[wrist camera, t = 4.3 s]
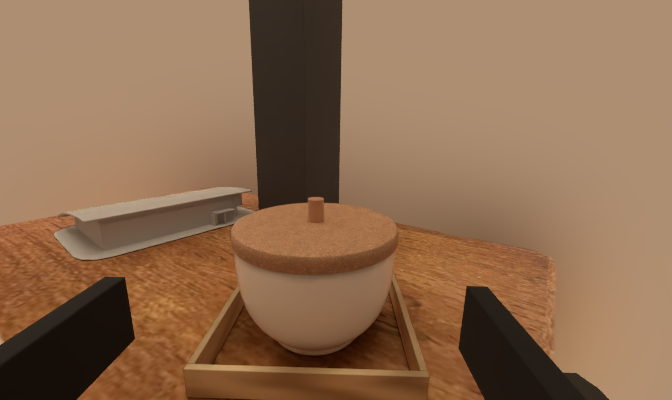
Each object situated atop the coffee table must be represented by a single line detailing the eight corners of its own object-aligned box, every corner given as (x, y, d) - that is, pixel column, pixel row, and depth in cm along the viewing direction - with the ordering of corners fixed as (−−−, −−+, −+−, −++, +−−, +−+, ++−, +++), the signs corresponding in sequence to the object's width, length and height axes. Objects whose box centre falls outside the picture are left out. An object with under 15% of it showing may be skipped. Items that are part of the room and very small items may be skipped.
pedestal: (338, 221, 46) (343, -67, 37) (305, 237, 39) (302, -109, 30) (295, 212, 50) (291, -49, 41) (259, 226, 43) (244, -83, 34)
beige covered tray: (266, 215, 48) (265, 190, 47) (80, 265, 31) (73, 228, 30) (213, 199, 57) (212, 178, 56) (48, 230, 40) (42, 201, 39)
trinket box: (203, 339, 21) (189, 203, 18) (303, 275, 29) (302, 177, 27) (341, 421, 15) (345, 241, 13) (413, 312, 24) (423, 194, 22)
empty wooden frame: (390, 283, 28) (392, 265, 28) (426, 405, 16) (429, 376, 16) (253, 279, 29) (252, 261, 28) (186, 397, 16) (182, 369, 16)
